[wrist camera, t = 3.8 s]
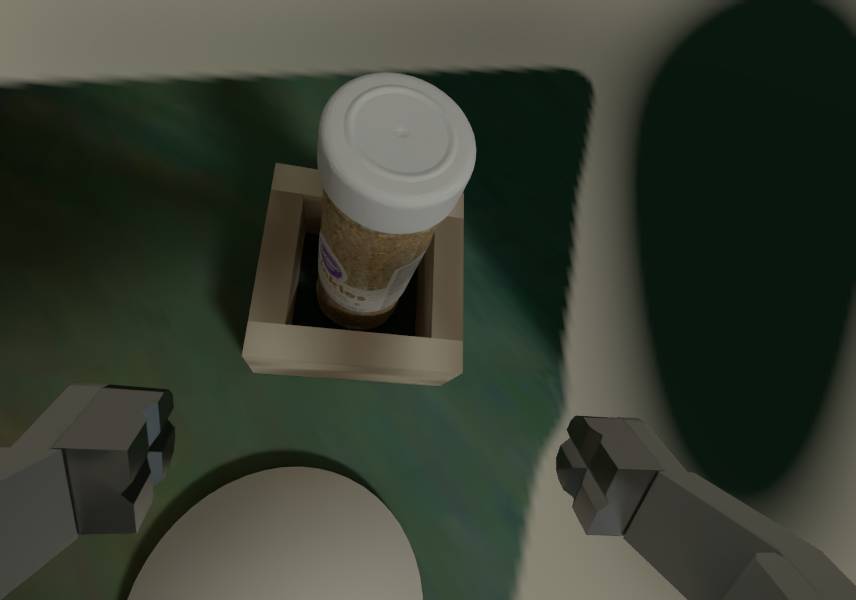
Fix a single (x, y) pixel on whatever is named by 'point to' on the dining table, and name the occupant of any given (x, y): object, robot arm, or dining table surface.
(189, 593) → the white domed disc
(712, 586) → the robot arm
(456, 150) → the sprinkles bottle
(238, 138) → the dining table surface
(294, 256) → the holder collar
